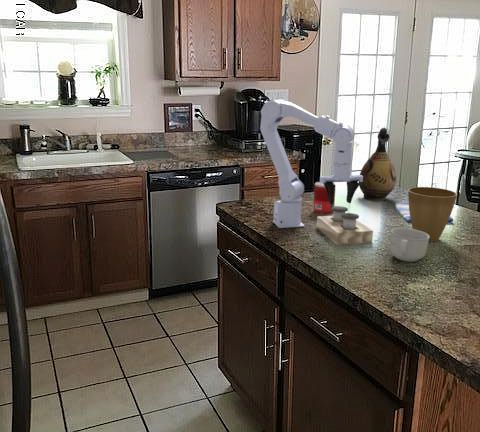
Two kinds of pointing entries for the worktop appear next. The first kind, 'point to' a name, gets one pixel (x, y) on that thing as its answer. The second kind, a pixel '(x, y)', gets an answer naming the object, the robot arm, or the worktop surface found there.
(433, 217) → the plant pot
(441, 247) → the worktop surface
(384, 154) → the ceramic jug
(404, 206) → the dish towel
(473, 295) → the worktop surface
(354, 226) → the knob front
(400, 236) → the teacup
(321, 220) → the knob mount
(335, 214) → the knob rear
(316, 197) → the canned food
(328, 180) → the robot arm
